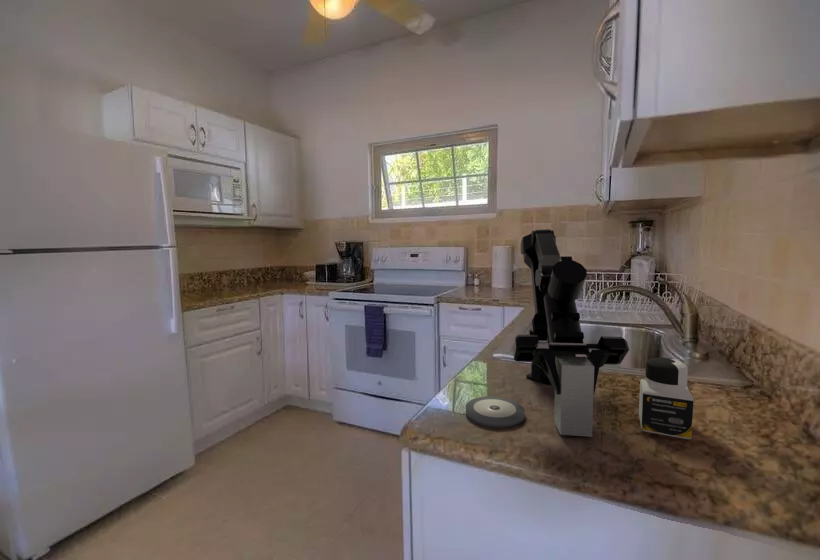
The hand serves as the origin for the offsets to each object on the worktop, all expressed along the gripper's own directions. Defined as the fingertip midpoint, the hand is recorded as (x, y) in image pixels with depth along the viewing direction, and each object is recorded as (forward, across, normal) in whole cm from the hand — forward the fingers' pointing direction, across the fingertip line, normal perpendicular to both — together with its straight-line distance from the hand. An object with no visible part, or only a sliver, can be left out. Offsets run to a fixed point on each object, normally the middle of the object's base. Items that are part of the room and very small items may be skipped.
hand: (575, 394), depth 64 cm
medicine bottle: (+2, -16, -9) cm, 19 cm away
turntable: (0, +13, -10) cm, 16 cm away
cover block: (+4, 0, -6) cm, 7 cm away
